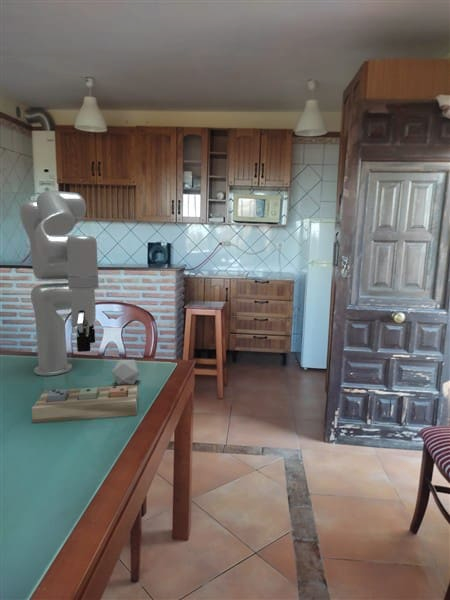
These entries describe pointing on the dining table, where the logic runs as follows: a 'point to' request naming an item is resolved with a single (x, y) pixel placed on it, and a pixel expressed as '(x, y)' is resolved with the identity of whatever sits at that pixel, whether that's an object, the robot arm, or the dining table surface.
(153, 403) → the dining table surface
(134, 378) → the die
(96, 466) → the dining table surface
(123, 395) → the button two
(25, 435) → the dining table surface
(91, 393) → the button one
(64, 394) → the button three
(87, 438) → the dining table surface
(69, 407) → the button board
